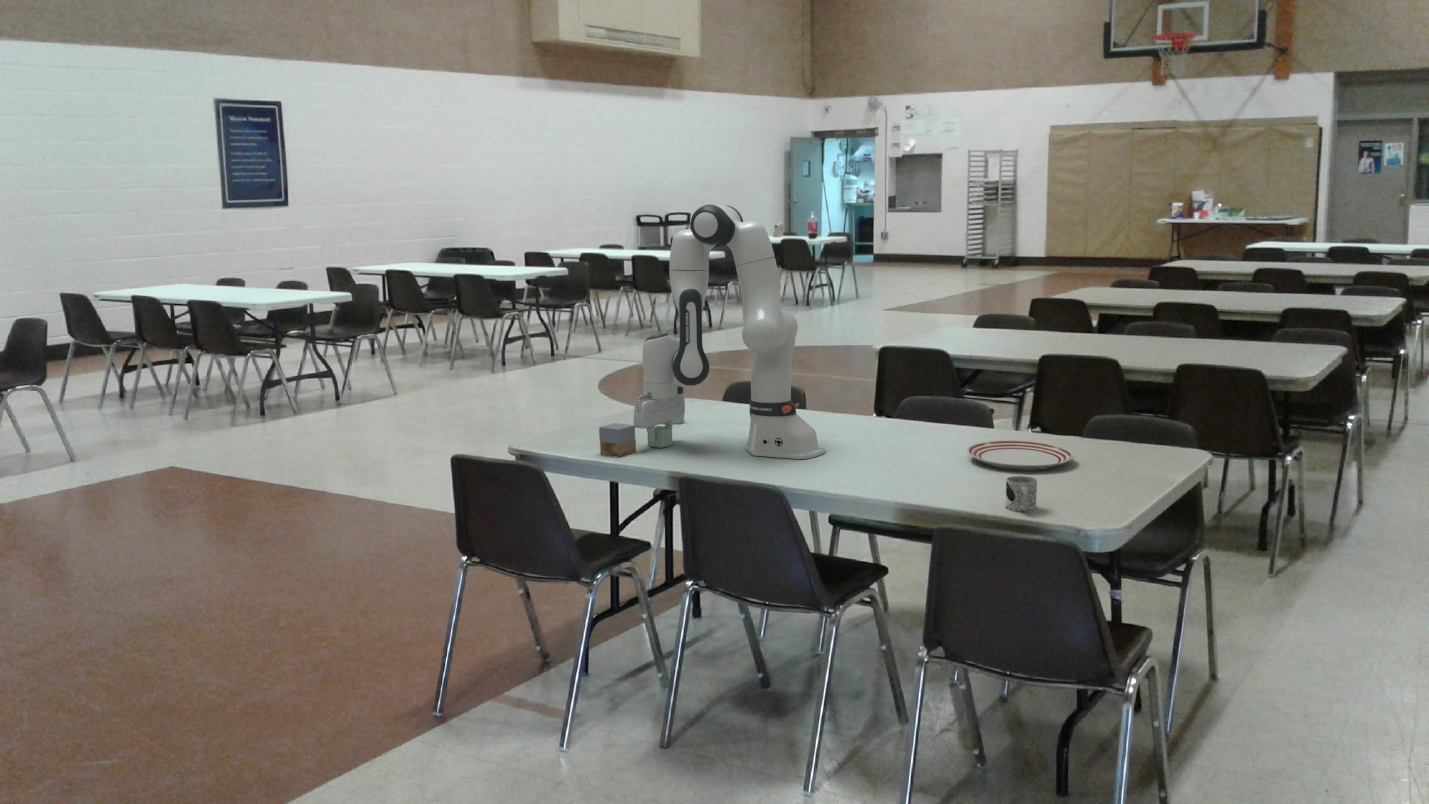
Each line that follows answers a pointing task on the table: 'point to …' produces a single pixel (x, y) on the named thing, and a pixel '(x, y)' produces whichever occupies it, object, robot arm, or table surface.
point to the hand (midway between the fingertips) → (660, 438)
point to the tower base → (618, 448)
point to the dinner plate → (1020, 454)
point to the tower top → (617, 433)
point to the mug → (1021, 493)
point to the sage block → (661, 437)
